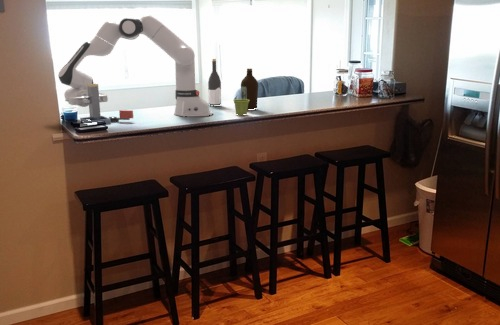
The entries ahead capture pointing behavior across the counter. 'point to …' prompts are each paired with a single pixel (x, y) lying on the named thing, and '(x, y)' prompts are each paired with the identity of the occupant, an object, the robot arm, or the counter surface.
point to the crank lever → (124, 115)
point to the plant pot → (241, 106)
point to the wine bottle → (214, 86)
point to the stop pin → (94, 101)
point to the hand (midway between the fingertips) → (94, 100)
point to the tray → (107, 120)
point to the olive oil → (249, 89)
